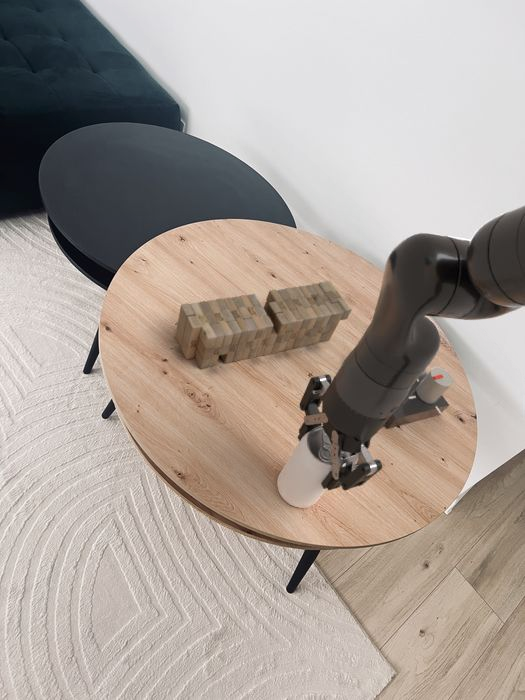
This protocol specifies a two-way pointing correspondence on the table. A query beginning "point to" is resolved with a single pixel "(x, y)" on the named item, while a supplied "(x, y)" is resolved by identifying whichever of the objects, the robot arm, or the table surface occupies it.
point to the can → (306, 469)
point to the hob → (415, 407)
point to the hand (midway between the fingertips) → (316, 461)
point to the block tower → (259, 323)
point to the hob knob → (434, 385)
